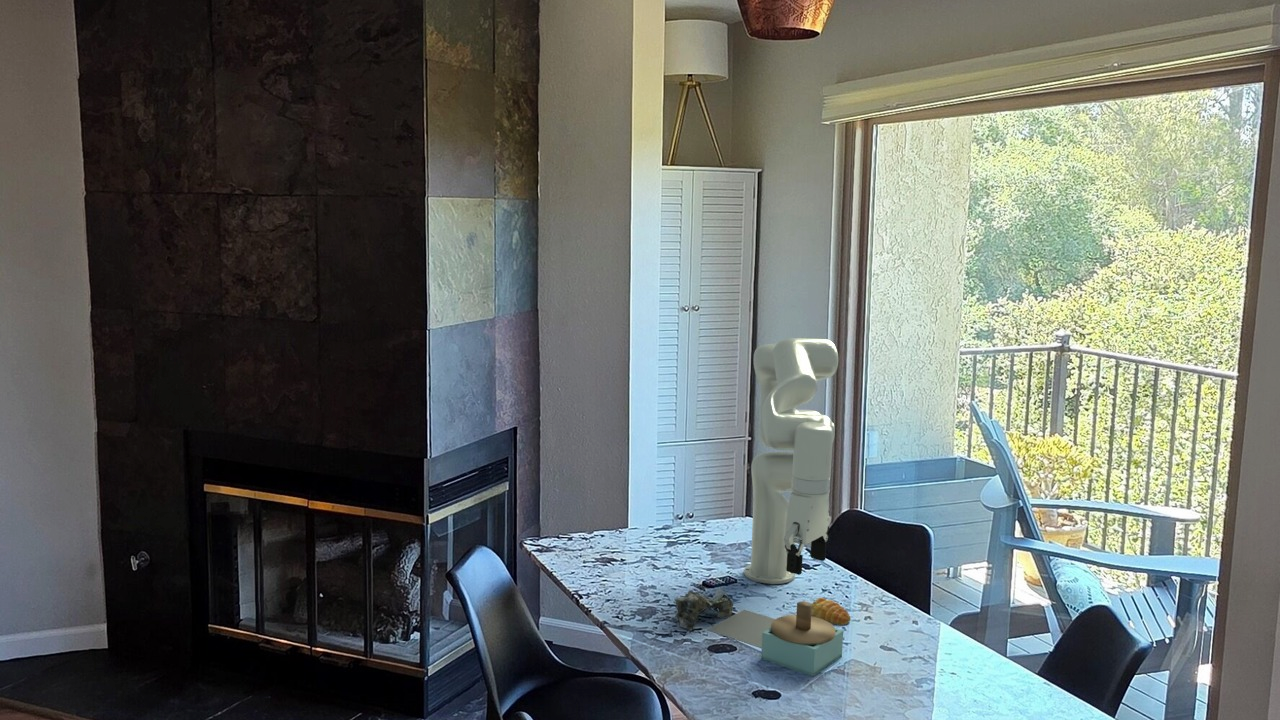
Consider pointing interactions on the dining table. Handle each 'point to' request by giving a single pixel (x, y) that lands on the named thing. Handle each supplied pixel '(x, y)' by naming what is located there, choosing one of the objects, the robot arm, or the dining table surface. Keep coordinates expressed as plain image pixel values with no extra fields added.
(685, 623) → the mottled brown rock
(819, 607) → the pastry
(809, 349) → the robot arm
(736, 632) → the mat
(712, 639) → the dining table surface
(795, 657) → the green square box
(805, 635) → the lid
